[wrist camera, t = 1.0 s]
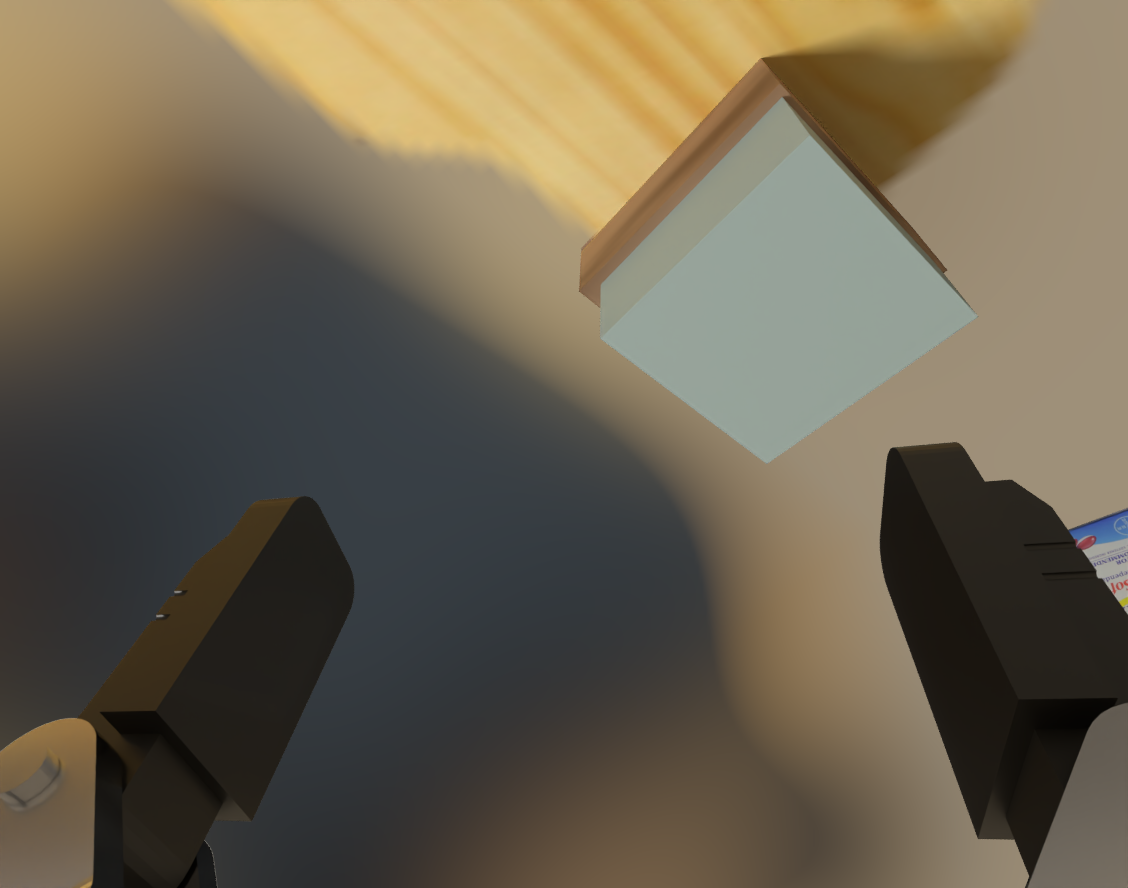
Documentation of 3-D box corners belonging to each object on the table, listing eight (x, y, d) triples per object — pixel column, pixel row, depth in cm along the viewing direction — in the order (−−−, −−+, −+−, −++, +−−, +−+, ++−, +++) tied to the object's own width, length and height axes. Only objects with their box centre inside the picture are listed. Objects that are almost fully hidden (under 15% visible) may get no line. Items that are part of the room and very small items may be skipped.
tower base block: (581, 247, 31) (579, 291, 28) (758, 55, 25) (780, 83, 22) (731, 371, 35) (743, 421, 32) (911, 226, 29) (947, 270, 26)
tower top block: (600, 284, 27) (600, 338, 24) (781, 97, 23) (809, 134, 20) (750, 403, 31) (766, 463, 28) (934, 262, 26) (978, 316, 23)
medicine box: (1136, 502, 39) (1244, 635, 32) (1152, 544, 41) (1256, 677, 34) (989, 555, 42) (1060, 685, 36) (1011, 591, 44) (1082, 720, 38)
